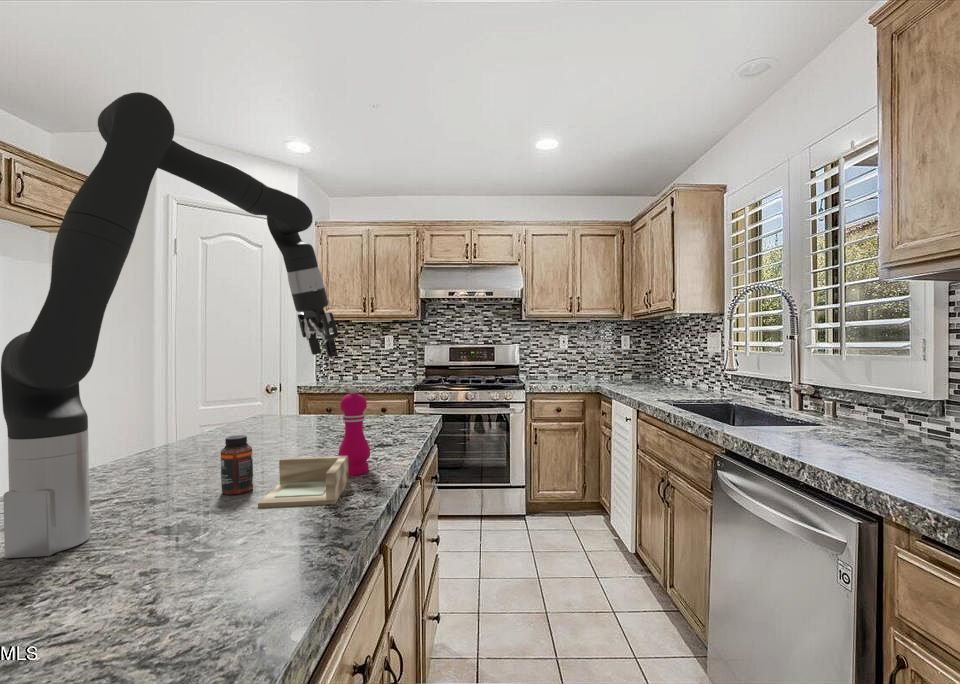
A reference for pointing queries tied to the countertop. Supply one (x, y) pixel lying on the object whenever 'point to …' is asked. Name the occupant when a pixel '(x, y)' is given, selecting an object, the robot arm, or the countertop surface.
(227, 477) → the supplement bottle
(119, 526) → the countertop surface
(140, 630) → the countertop surface
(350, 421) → the pepper mill
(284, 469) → the tray
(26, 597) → the countertop surface
